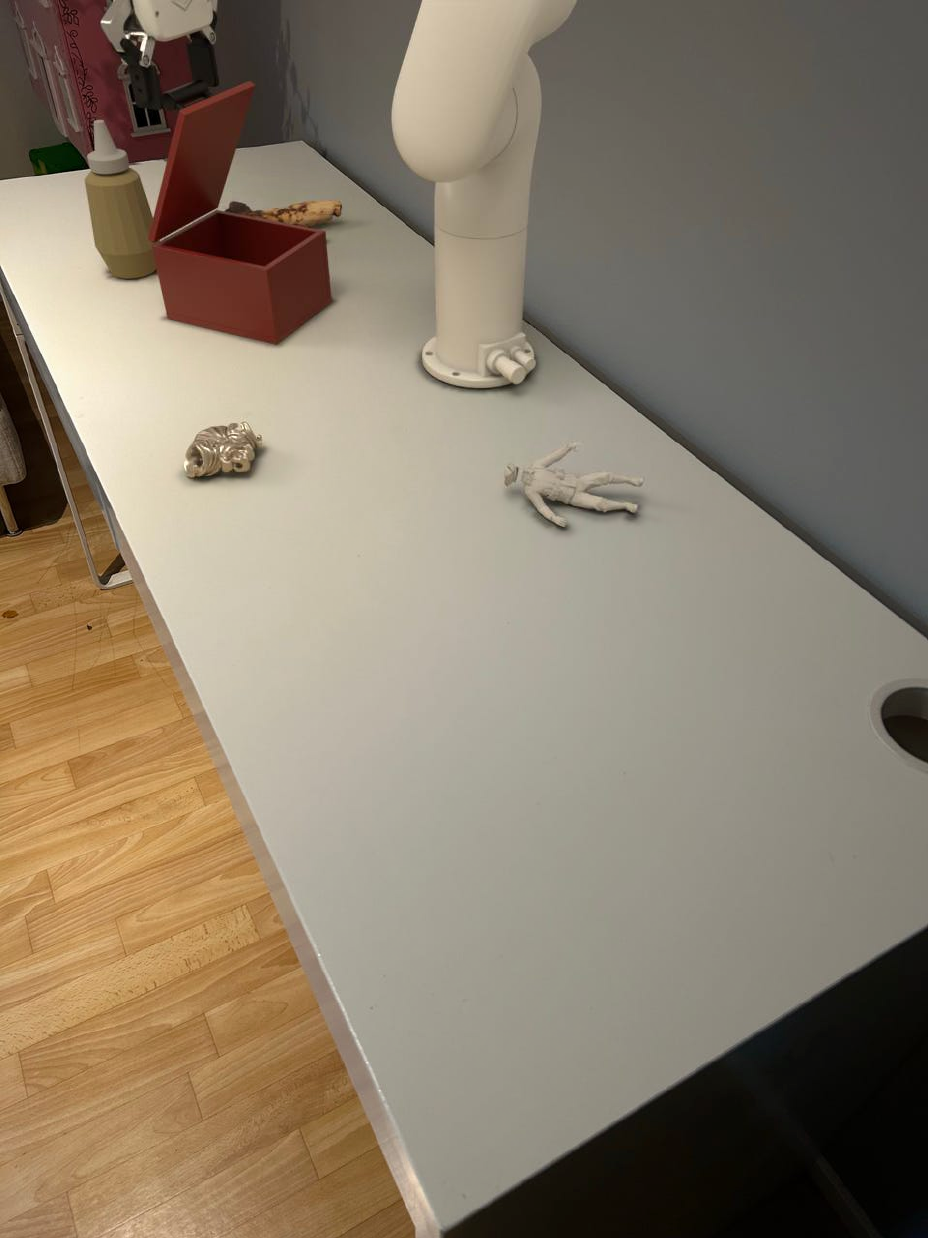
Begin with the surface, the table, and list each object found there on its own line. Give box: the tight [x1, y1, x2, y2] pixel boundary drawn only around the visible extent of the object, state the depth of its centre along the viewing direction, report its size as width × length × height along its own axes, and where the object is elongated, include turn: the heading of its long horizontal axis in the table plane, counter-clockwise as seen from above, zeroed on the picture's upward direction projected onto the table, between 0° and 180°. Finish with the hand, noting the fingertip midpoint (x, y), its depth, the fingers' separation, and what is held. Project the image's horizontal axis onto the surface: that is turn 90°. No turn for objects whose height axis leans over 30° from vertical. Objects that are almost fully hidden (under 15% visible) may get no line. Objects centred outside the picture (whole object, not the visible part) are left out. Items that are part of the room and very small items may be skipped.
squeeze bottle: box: [84, 119, 161, 279], centre depth 117 cm, size 8×8×18 cm
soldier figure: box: [503, 440, 645, 527], centre depth 85 cm, size 8×5×12 cm
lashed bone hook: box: [224, 199, 343, 228], centre depth 130 cm, size 9×5×18 cm
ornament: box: [183, 421, 263, 478], centre depth 89 cm, size 8×7×4 cm
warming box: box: [152, 209, 333, 346], centre depth 112 cm, size 16×13×9 cm
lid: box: [148, 79, 256, 243], centre depth 104 cm, size 16×13×5 cm
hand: (179, 96), depth 100 cm, fingers open, 9 cm apart
